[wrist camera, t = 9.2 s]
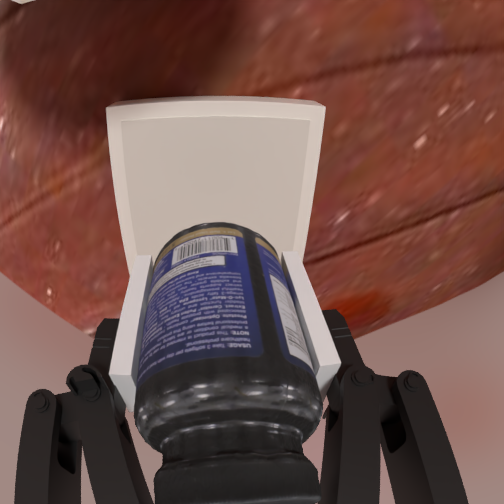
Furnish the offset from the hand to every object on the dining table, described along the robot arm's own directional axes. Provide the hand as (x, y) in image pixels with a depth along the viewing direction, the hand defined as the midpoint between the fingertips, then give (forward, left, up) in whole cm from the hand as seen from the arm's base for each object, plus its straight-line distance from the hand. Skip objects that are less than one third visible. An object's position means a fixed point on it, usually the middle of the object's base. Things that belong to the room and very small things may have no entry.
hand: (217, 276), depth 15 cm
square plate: (0, 0, -11) cm, 11 cm away
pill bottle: (0, 0, 0) cm, 0 cm away
